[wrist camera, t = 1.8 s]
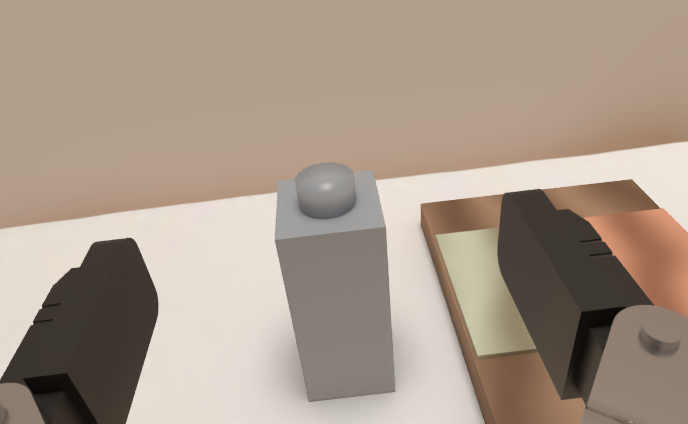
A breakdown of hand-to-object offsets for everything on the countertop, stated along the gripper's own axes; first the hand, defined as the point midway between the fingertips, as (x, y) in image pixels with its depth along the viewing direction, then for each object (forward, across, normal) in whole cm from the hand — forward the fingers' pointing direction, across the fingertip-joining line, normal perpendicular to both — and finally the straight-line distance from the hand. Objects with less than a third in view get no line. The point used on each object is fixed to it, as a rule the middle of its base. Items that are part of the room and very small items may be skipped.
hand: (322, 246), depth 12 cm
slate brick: (+12, 0, +19) cm, 23 cm away
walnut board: (+15, -15, +19) cm, 29 cm away
